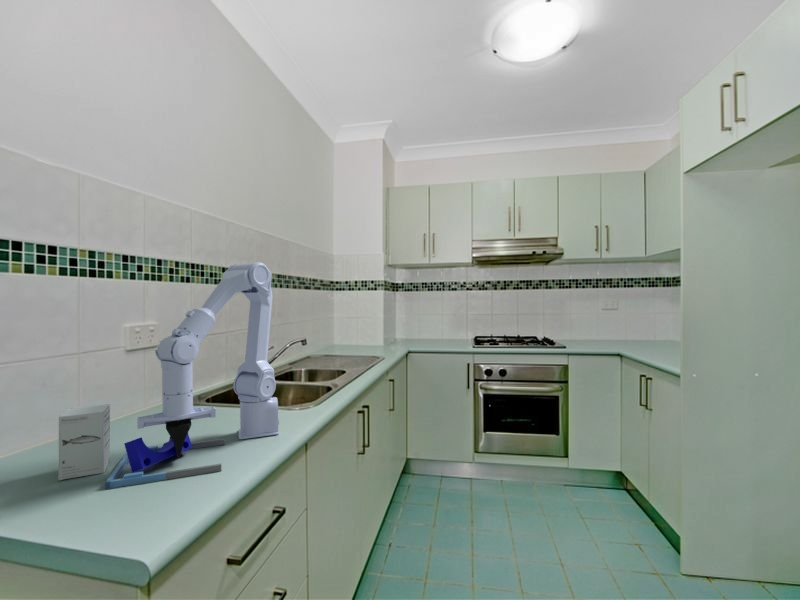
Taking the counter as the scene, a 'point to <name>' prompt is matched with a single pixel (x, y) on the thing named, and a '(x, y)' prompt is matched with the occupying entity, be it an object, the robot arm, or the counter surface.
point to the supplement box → (84, 441)
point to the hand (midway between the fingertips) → (178, 455)
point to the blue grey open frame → (140, 478)
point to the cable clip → (150, 453)
